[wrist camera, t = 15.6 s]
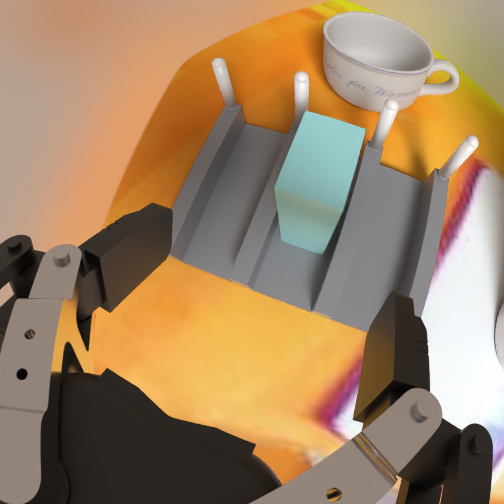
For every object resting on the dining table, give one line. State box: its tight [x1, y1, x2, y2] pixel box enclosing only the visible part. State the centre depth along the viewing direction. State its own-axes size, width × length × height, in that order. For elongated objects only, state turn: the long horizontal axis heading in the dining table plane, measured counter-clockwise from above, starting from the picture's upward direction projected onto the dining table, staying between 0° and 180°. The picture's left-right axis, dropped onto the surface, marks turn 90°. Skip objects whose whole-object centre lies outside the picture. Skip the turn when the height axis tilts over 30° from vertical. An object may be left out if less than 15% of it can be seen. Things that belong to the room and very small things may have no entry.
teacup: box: [323, 12, 460, 113], centre depth 23 cm, size 14×11×8 cm
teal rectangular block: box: [274, 111, 366, 255], centre depth 19 cm, size 3×5×10 cm
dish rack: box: [168, 58, 479, 333], centre depth 20 cm, size 20×14×10 cm
